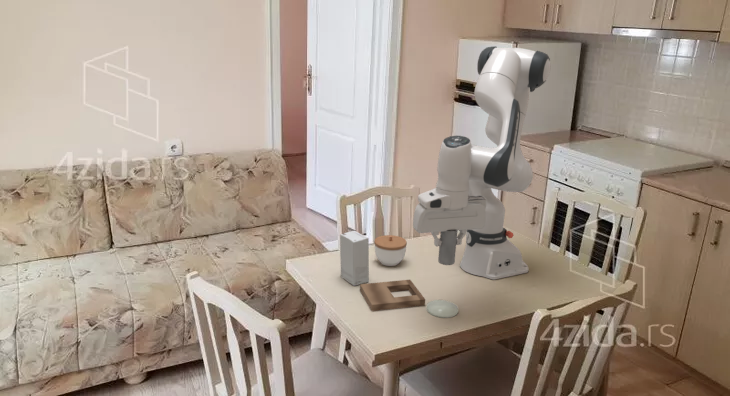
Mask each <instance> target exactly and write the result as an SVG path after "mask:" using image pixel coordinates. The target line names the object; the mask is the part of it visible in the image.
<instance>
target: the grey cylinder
mask: <svg viewBox="0 0 730 396" xmlns="http://www.w3.org/2000/svg"><path fill="white" fill-rule="evenodd" d="M458 232H459V230H447V231H444V232H439V234H440V235H439V238H440V240H442V243H441V244H442V245H441V246H438V263H439V264H441V265H444V266H452V265H454V264H455V262H456V252H457V251H456V250H457V245H456V242H457V236H458Z"/></svg>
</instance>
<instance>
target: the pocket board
mask: <svg viewBox="0 0 730 396" xmlns="http://www.w3.org/2000/svg"><path fill="white" fill-rule="evenodd" d="M359 291H360V293H361V294H362V296H363V298H364V300H365V302H366V303H367V306H368V307H369V309H370V311H371V312H374V311H375V312H376V311H377V312H378V311H385V310H396V309H403V308H404V309H405V308H413V307H423V306H425V305H426V299H425V297H424V296H423V294H422V293H421V291H419V289H418V288H417V286H416V285H415V284H414V283H413V281H412V280H411V279H401V280H400V279H399V280H392V281H380V282H371V283H370V282H367V283H363V284H359ZM404 291H405V292H407V291H408V292H409V293H410V295H405V296H404V295H403V296H395V297H394V295H393V293H394V292H404Z"/></svg>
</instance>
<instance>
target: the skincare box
mask: <svg viewBox="0 0 730 396" xmlns="http://www.w3.org/2000/svg"><path fill="white" fill-rule="evenodd" d="M369 239H370V238H369V237H367V236H366V235H364V234H361V232H360V233H359V232H358V231H356V230H352V231H348V232H343V233H340V234H339V245H340V247H339V248H340V249H339V250H340V254H339V257H340V278H342V279H343V280H345V281H346V282H348V283H349V284H351V285H352V286H354V287H355V286H357V285H358V286H360V284H368V283H370V282H369V281H370V277H369V276H370V274H369V273H370V272H369V271H370V268H369V265H370V263H369V262H370V261H369V260H370V259H369V258H370V257H369V256H370V255H369V252H370V251H369V250H370V249H369Z"/></svg>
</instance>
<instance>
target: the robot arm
mask: <svg viewBox="0 0 730 396" xmlns="http://www.w3.org/2000/svg"><path fill="white" fill-rule="evenodd" d="M476 65H477V68H476V69H477V73H478V75H479V77H478V78H477V81H476V83H475V86H474V87H475V88H474V92H473V94H474V99H475V102H476V104H477V105H478V106H479V107H480V108H481V110H482V111H484V112H485V113H486V114H488V117H487V120H486V121H487V122H486V124H485V130H484V131H485V134H486V135H485V136H487V138H488V139H489V140H490V141H491V142H493V143H494V144H495V145H496V147H487V146H482V145H481V146H480V145H477V144H472V141H471V139H470V138H469V137H466V136H464V135H452V136H448V137H445V138H444V139H443V140H442V142H441V145H440V150H439V153H438V158H437V159H438V160H437V167H436V168H437V169H436V170H437V180H436V184H435V187H434V188H432V189H430V190H427V191H424V192H422V193H419V194H418V196H417V201H418V204H416V206H415V209H414V212H413V220H412V227H413V229H414V230H415V232H417V233H418V234H431V235H432V237H433V239H434V241H433V245H434V246H435V247H439V246H441V245H442V244H441V243H442V240H440V237H438V236H440V235H439V234H440V233H441V232H444V231H447V230H458V232H459V233H457V242H456V246H459V245H462V243H463V238H464V237H465V249H464V252H463V255H462V258H461V261H460V263H459V267H460V268H461V269H462V270H463V271H465V272H467V273H468V274H471V275H474V276H479V277H484V278H487V279H490V280H498V279H503V278H508V277H512V276H517V275H521V274H526V273H528V272H529V265H528V264H527V263H526V262H525V261H524V260H523V256H522V252H521V250H520V248H518V247H517V246H516V245H515V244H514V243H513V242H512V241H510V240H509V239H512V238H513V237H514V235H515V234H514V232H512V231H510V230H507V229H506V228H505V227H504V222H505V213H506V209H505V205H504V203H503V202H502V201H501V200H500V198H498V197H497V196H496V195H495V194H494V192H493V191H492V189H494V190H496V191H502V192H508V193H522V192H524V191H525V190H527V189H528V188H529V187H530V185H531V183H532V181H533V177H534V174H533V173H534V171H533V168H532V166H531V164H530V162H529V161H528V160H527V158H526V157H525V156H524V154H523V152H522V148H521V137H522V130H523V128H524V127H523V126H524V124H525V123H524V122H525V118H526V116H527V111H528V105H529V100H530V99H529V98H530V93H533V92H534V91H535V90H536V89H537V88H540V87H541V86H542V85H544V84H545V83H546V82H547V79H548V77H549V76H550V73H551V58H550V57H549V55H548V53H546V52H543V51H540V50H536V51H535V50H532V49H527V48H522V47H506V46H504V47H497V46H488V47H485V48H484V49H483V50H482V51H481V52H480V54H479V56H478V59H477V64H476Z"/></svg>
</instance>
